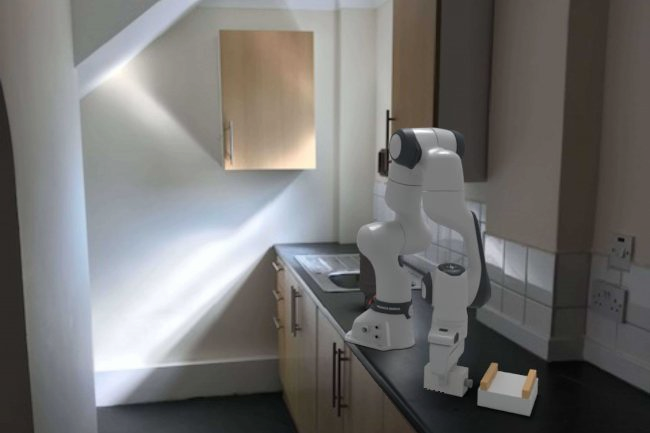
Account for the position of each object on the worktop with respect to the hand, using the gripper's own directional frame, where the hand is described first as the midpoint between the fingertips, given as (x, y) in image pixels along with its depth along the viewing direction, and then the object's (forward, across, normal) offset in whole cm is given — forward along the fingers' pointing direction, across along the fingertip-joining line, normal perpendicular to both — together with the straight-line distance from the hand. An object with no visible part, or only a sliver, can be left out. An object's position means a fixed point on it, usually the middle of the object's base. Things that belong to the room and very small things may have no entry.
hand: (447, 380), depth 146 cm
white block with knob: (+2, 0, 0) cm, 3 cm away
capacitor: (+3, -60, -44) cm, 74 cm away
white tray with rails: (+2, -1, +15) cm, 15 cm away
